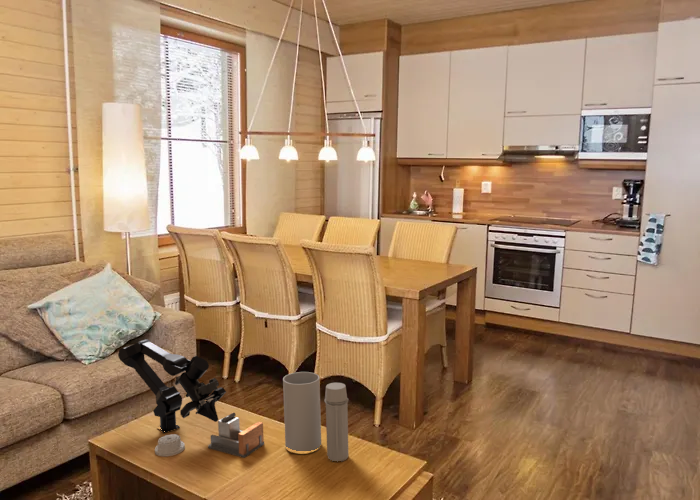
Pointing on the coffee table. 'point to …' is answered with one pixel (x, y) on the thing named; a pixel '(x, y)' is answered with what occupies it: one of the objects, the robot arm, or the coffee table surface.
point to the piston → (229, 427)
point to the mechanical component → (169, 445)
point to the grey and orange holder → (240, 441)
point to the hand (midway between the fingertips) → (217, 420)
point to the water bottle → (336, 421)
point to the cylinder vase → (302, 411)
